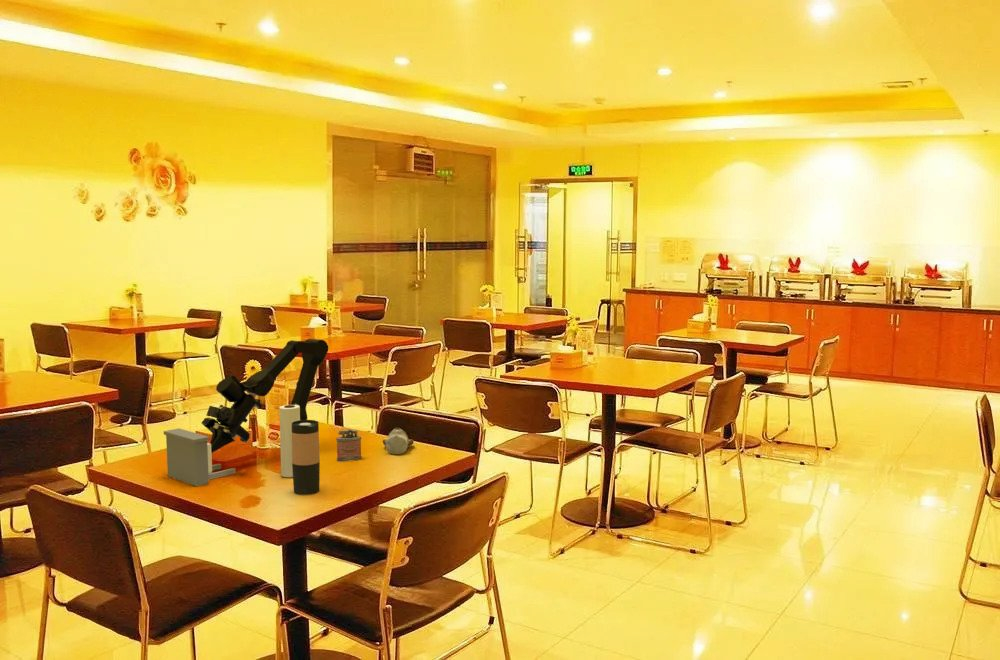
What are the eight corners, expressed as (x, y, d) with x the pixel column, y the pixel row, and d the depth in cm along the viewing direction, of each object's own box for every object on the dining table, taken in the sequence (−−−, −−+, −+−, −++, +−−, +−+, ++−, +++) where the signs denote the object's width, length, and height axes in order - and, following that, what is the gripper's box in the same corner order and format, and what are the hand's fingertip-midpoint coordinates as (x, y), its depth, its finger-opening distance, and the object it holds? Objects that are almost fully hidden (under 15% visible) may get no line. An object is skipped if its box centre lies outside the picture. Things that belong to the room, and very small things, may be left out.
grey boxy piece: (212, 466, 273) (210, 422, 272) (243, 475, 262) (241, 430, 261) (165, 476, 261) (163, 431, 260) (195, 487, 250) (193, 439, 249)
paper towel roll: (288, 479, 259) (286, 408, 257) (277, 475, 263) (275, 406, 261) (308, 474, 264) (307, 405, 262) (297, 470, 268) (295, 402, 266)
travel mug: (296, 487, 251) (295, 419, 248) (323, 487, 250) (321, 419, 248) (289, 495, 243) (287, 425, 241) (316, 495, 243) (315, 425, 241)
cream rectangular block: (201, 472, 265) (200, 440, 263) (212, 476, 261) (211, 443, 260) (189, 475, 261) (188, 443, 260) (200, 479, 258) (199, 446, 256)
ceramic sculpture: (379, 430, 285) (383, 423, 300) (379, 456, 285) (383, 448, 300) (412, 430, 285) (414, 423, 300) (412, 456, 286) (414, 448, 301)
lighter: (360, 457, 284) (360, 427, 283) (362, 460, 281) (361, 429, 280) (336, 459, 282) (335, 429, 281) (337, 462, 279) (336, 431, 277)
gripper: (205, 392, 271) (174, 432, 263) (240, 399, 259) (208, 442, 252) (228, 412, 278) (199, 453, 270) (263, 420, 266) (232, 463, 258)
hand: (208, 452), depth 263 cm, fingers closed
